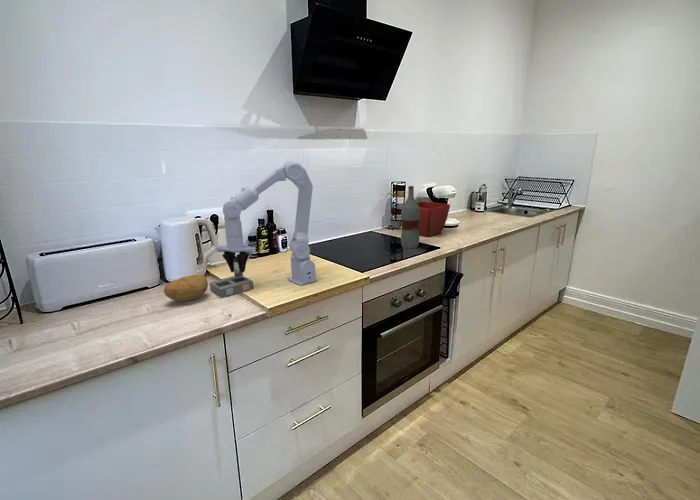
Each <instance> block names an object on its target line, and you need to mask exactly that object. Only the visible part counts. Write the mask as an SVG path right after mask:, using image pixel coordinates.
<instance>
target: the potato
mask: <svg viewBox="0 0 700 500" xmlns="http://www.w3.org/2000/svg"><path fill="white" fill-rule="evenodd" d="M208 287H209V282H208V280H207V277H206V276H205V275H204V274H200V273H199V274H198V273H197V274H192V275H187V276H182V277H179V278H177V279H174V280H172V281H170V282H168V283H167V284H166V285H165V286H164V289H163V293H164V294H165V296H166V297H167V298H168V299H170V300H172V301H174V302H178V303H186V302H190V301H193V300H195V299H198V298H199V297H201V296H203V295H204V294H206V292H207V290H208Z"/></svg>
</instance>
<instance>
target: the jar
mask: <svg viewBox="0 0 700 500" xmlns="http://www.w3.org/2000/svg"><path fill="white" fill-rule="evenodd" d="M232 261H233V268H234V272H233V274H234V275H233V276H235V277H241V276H244V272H243V273H241V272H240V265H239V261H238V258H237V255H235V256H234V257H232Z"/></svg>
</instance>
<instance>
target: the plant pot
mask: <svg viewBox="0 0 700 500" xmlns="http://www.w3.org/2000/svg"><path fill="white" fill-rule="evenodd" d="M416 202H417V201H416ZM417 204H418V206H419V209H420V217H419V227H418V231H419V237H420V236H421V237H426V238H429V237H434V236H437V235H439V234H442V233H443V232H442V231H444V227H445V225H446V222H447V220H448V215H449V212H450V207H451V204H449V203H441V202H440V203H439V202H433V201H418V202H417Z"/></svg>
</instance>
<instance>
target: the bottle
mask: <svg viewBox="0 0 700 500" xmlns="http://www.w3.org/2000/svg"><path fill="white" fill-rule="evenodd" d="M407 187H408V190H407V191H408V193H407V194H408V195H407V196H408V197H407V199H406V200H405V202H404V203H403V205H402V207H401V212H400V216H401V217H400V218H401V233H400V244H401V248H404V249H409V250H410V249H417V248H418V246H419V243H420V235H419V231H418V227H419V217H420V209H419V206H418V204H417V201H416V199H415V197H414V193H415V191H414V190H415V186H414V185H408V186H407Z"/></svg>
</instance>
